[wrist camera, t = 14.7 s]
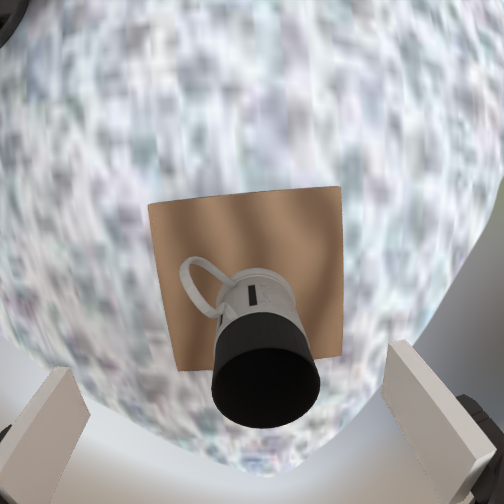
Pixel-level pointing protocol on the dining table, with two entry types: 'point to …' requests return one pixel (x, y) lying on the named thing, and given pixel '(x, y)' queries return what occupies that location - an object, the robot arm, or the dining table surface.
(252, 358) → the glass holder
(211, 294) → the walnut board
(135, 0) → the dining table surface
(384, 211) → the dining table surface
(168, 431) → the dining table surface
